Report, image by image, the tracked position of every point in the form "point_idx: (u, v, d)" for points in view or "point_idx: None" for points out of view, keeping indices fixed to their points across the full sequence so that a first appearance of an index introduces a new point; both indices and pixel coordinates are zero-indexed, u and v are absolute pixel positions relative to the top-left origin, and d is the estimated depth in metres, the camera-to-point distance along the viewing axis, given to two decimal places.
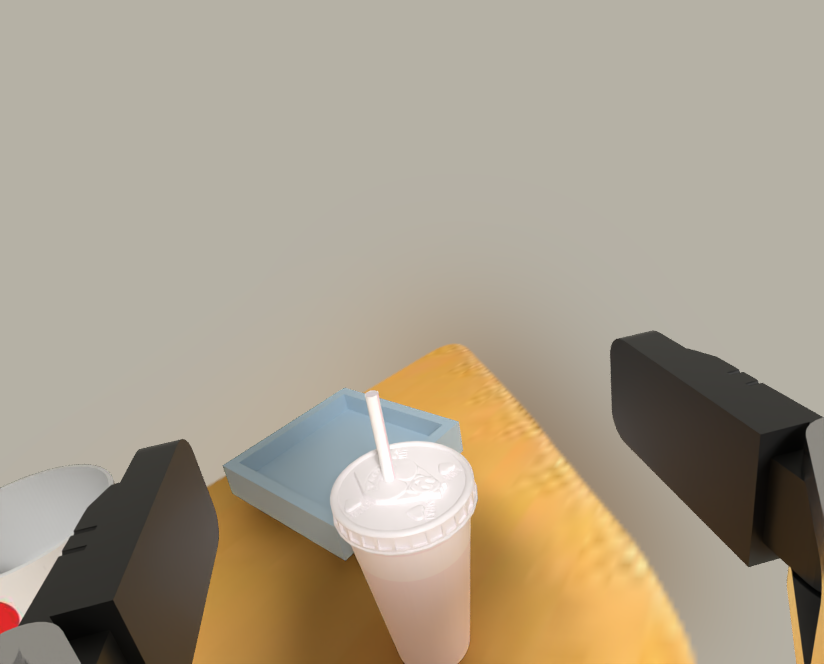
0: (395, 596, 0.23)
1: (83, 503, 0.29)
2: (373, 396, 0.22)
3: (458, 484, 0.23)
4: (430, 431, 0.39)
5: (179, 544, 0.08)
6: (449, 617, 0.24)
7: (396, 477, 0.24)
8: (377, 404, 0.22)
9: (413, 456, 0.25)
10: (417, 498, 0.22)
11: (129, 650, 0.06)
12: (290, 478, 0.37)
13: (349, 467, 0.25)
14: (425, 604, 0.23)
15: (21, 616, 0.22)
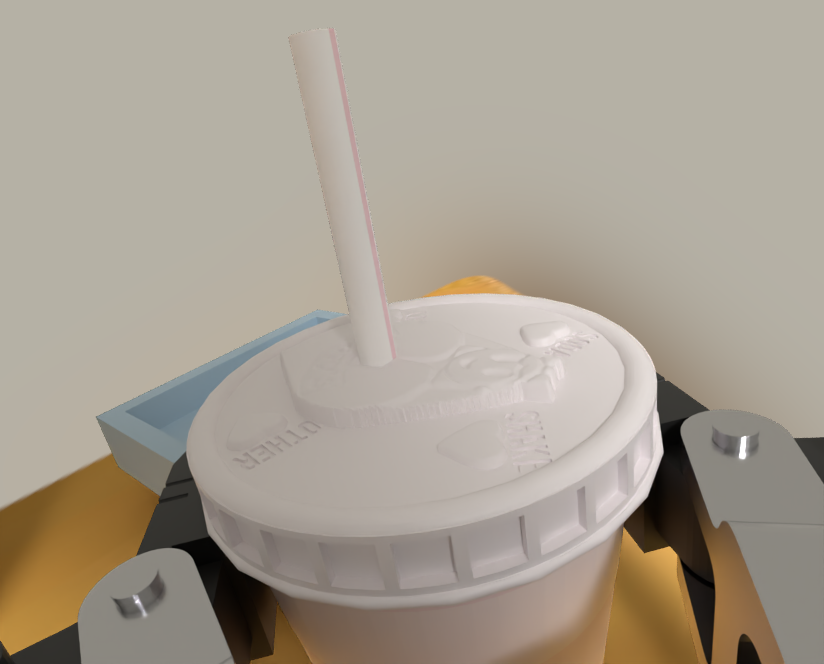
0: None
1: None
2: (317, 31, 0.06)
3: (601, 364, 0.07)
4: None
5: None
6: None
7: (399, 355, 0.08)
8: (332, 66, 0.06)
9: (444, 320, 0.09)
10: (472, 403, 0.07)
11: (236, 579, 0.07)
12: None
13: (272, 351, 0.09)
14: None
15: None
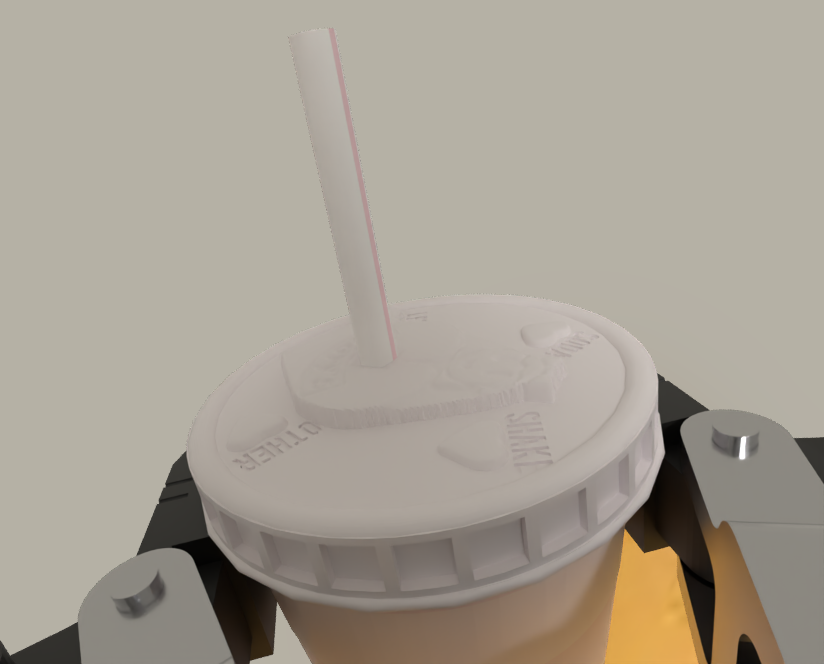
0: None
1: None
2: (317, 31, 0.06)
3: (602, 365, 0.07)
4: None
5: None
6: None
7: (400, 356, 0.08)
8: (331, 66, 0.06)
9: (445, 321, 0.09)
10: (472, 404, 0.07)
11: (237, 579, 0.07)
12: None
13: (272, 351, 0.09)
14: None
15: None
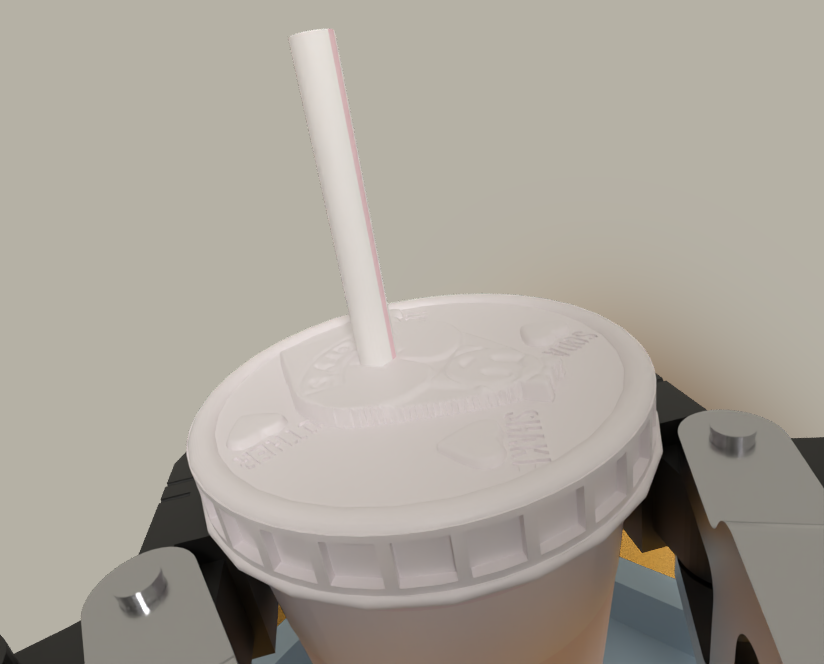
0: None
1: None
2: (316, 31, 0.06)
3: (600, 364, 0.07)
4: None
5: None
6: None
7: (399, 355, 0.08)
8: (331, 66, 0.06)
9: (444, 320, 0.09)
10: (471, 403, 0.07)
11: (239, 578, 0.07)
12: None
13: (272, 351, 0.09)
14: None
15: None
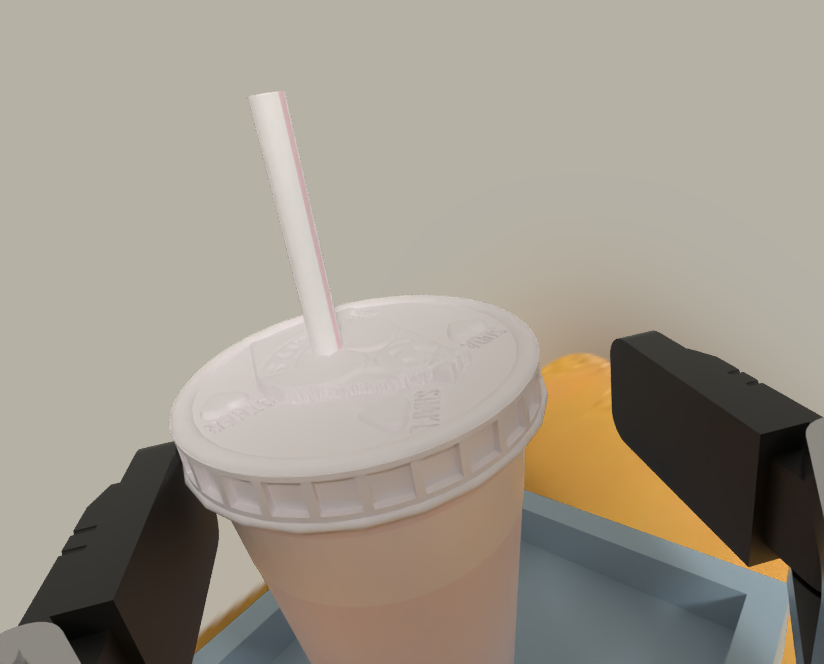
0: (334, 641, 0.09)
1: None
2: (269, 93, 0.08)
3: (499, 354, 0.09)
4: (692, 599, 0.14)
5: (179, 544, 0.08)
6: None
7: (344, 346, 0.10)
8: (281, 120, 0.08)
9: (390, 318, 0.11)
10: (392, 384, 0.08)
11: (129, 650, 0.06)
12: None
13: (246, 342, 0.11)
14: (413, 662, 0.09)
15: None
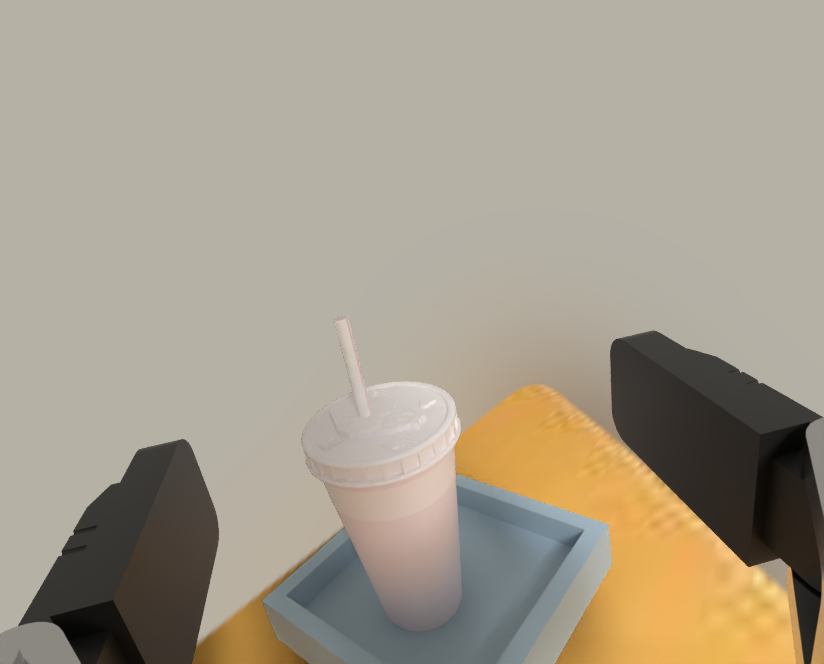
0: (373, 539, 0.21)
1: None
2: (342, 319, 0.20)
3: (438, 416, 0.21)
4: (562, 536, 0.26)
5: (179, 544, 0.08)
6: (435, 565, 0.22)
7: (373, 413, 0.22)
8: (347, 328, 0.20)
9: (393, 395, 0.24)
10: (394, 430, 0.21)
11: (129, 650, 0.06)
12: (363, 618, 0.25)
13: (325, 409, 0.24)
14: (407, 547, 0.21)
15: None
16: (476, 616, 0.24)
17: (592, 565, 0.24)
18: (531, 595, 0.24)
